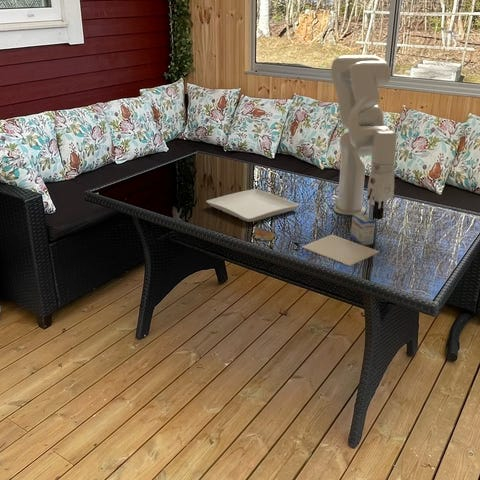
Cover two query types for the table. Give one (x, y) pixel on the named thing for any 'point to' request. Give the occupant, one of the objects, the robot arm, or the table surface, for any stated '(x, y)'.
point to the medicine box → (362, 229)
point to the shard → (263, 234)
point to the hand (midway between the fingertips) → (377, 218)
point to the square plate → (252, 204)
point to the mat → (340, 250)
